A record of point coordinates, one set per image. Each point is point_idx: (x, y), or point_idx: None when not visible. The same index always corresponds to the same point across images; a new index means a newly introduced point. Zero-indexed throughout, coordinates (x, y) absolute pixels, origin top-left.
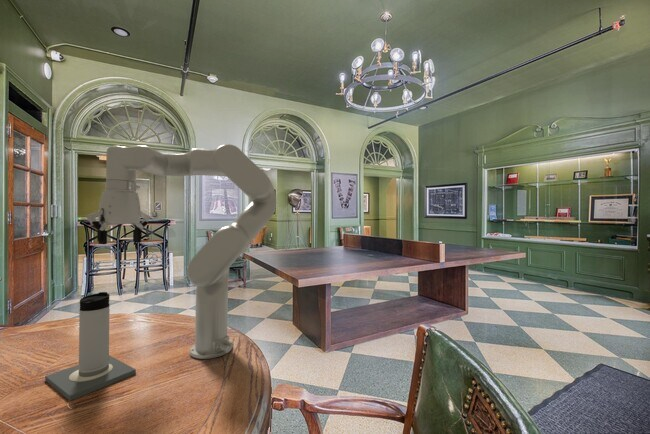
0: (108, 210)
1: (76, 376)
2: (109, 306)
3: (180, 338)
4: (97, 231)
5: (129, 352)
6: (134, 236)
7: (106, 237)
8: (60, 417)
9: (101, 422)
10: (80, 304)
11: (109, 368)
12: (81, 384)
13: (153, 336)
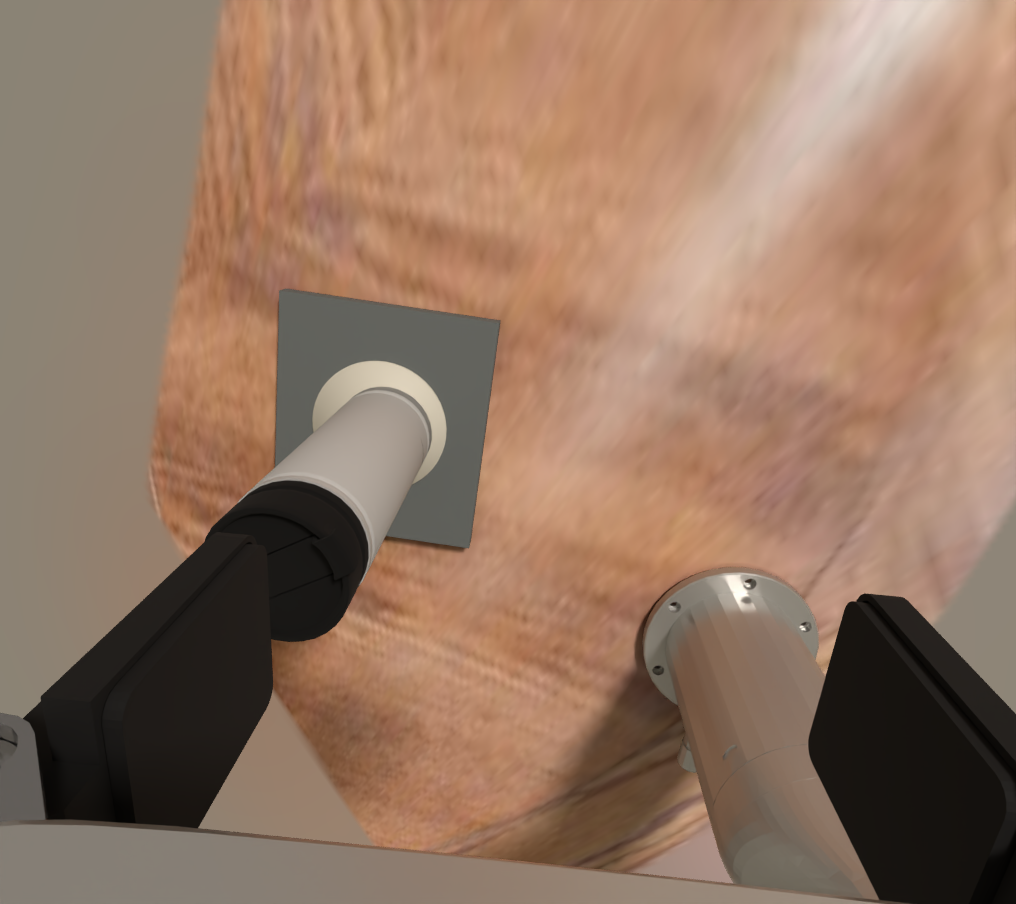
0: None
1: (334, 413)
2: (362, 579)
3: (795, 422)
4: (8, 735)
5: (582, 342)
6: (889, 712)
7: (215, 784)
8: None
9: (284, 675)
10: None
11: (424, 463)
12: None
13: (774, 263)
